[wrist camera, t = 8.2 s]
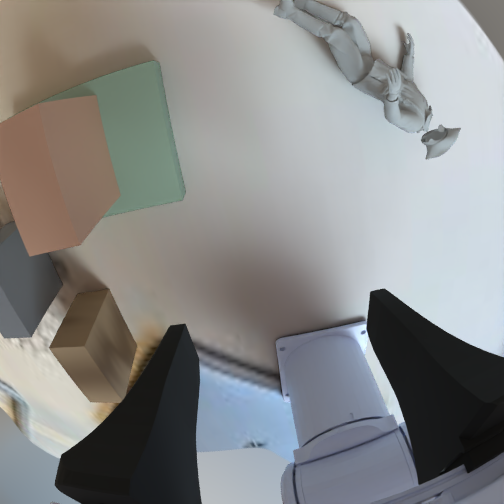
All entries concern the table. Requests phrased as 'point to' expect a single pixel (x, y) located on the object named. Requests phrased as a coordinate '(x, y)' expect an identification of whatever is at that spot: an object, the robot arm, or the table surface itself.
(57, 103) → the terracotta brick
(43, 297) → the charcoal brick
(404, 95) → the soldier figure
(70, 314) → the walnut brick
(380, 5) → the table surface
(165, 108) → the sage board
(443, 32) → the table surface
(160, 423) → the robot arm
